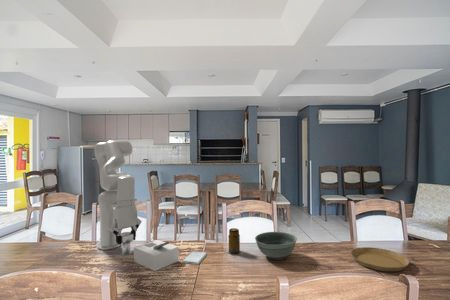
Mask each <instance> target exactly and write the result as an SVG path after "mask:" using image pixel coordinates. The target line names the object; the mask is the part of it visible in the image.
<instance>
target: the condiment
mask: <svg viewBox="0 0 450 300" xmlns="http://www.w3.org/2000/svg"><path fill="white" fill-rule="evenodd" d="M240 236H241V235H240V230H239V228H235V227H232V228H229V229H228V238H227V239H228V250H225V253H227V254H230V255H233V256H235V257H236V256H240V255H243V254H246V252H245V251H243V250H241V249H240V246H241V245H240V244H241V242H240V241H241V239H240V238H241V237H240Z"/></svg>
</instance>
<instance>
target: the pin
mask: <svg viewBox="0 0 450 300" xmlns="http://www.w3.org/2000/svg"><path fill="white" fill-rule="evenodd" d="M120 235H121V254H122V256H127V255H130V254H131V243H132V242H133V241H134V240H133V233H132V232H131V231H124V232H121V234H120Z"/></svg>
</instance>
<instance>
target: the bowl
mask: <svg viewBox="0 0 450 300" xmlns="http://www.w3.org/2000/svg"><path fill="white" fill-rule="evenodd" d="M254 240H255V243H256V245H257V248H258V249H259V251H260V252H261V253H262V254H263V255H264V256H266V257H267V259H269V260H272V261H273V260H274V261H281V260H284V259H286V257H288V256H289V255H290V254H292V252H294V248H295V247H296V243H297V237H296V235H293V234H291V233H287V232H282V231H267V232H262V233H259V234H257V235H256V236H255V237H254Z"/></svg>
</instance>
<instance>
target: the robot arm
mask: <svg viewBox="0 0 450 300" xmlns="http://www.w3.org/2000/svg"><path fill="white" fill-rule="evenodd" d="M132 153H133V145H132V143H131V142H130V141H129V140H108V141H103V142H98V143H96V144H94V156H95V159H96V161H97V164H98V171H99V172H98V173H99V185H100V187H101V189H104V190H105V191H102V192H101V193H100V194H98V197H97V199H98V200H97V202H98V206H99V207H98V208H99V222H100V223H99V226H100V227H99V232H100V233H99V237H100V238H99V242H100V243H99V244H97V246H96V247H97V249H98V250H101V251H103V250H104V251H108V250H114V249H117V248H119V247H120V246H122V243H121V235H120V234H121V233H122V231H123V230H124V229H129V228H130V232H132V233H133V241H136V237H137V231H138V228H139V227H140V225H141V224H142V223H143V222H142V220H141V219H140V218H138V217H139V216H138V208H137V205H136V204H135V203H136V202H137V201H138V199H137V198H135V195H136V194H135V192H136V190H135V186H136V185H135V177H134V176H133V174H130V173H127V172H126V171H117V172H116V170H118V169H121V168H122V167H124V165H125V162H126V161H125V157H129V156H131V155H132Z"/></svg>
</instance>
